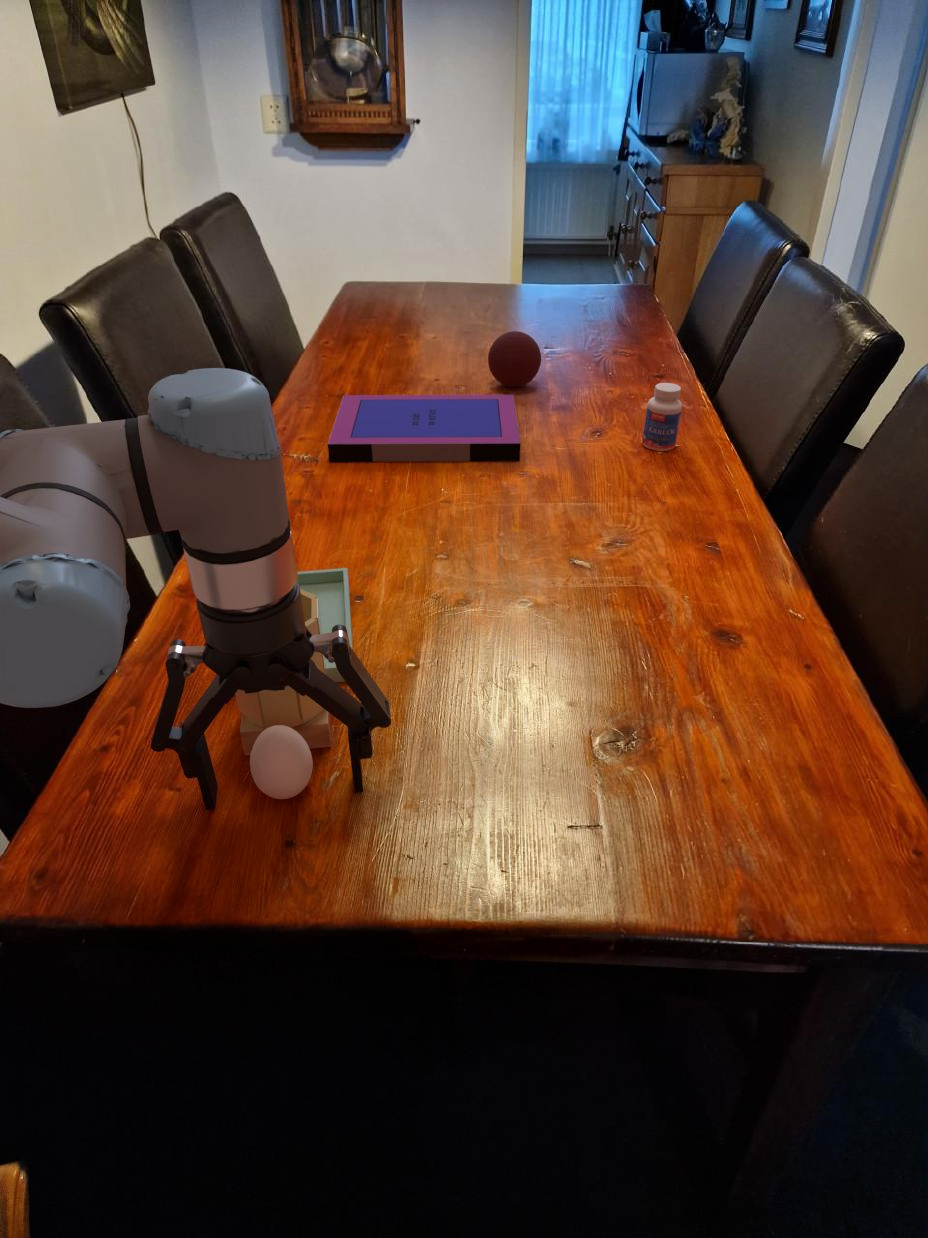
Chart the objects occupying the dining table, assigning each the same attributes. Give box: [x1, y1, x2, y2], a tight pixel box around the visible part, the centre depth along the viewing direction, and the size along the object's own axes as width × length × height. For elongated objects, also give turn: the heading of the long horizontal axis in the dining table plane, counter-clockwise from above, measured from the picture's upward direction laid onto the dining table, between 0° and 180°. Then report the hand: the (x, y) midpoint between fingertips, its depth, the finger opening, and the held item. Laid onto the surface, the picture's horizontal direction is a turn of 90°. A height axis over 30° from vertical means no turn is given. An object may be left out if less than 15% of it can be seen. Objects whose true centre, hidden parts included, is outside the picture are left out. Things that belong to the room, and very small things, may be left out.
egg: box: [249, 725, 314, 800], centre depth 70 cm, size 5×5×7 cm
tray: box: [297, 567, 354, 683], centre depth 91 cm, size 19×13×2 cm
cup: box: [234, 589, 328, 728], centre depth 75 cm, size 8×8×10 cm
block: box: [239, 709, 332, 756], centre depth 79 cm, size 8×8×3 cm
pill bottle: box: [641, 382, 683, 452], centre depth 130 cm, size 6×5×10 cm
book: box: [327, 394, 521, 463], centre depth 136 cm, size 21×3×30 cm
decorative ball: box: [487, 330, 542, 388], centre depth 153 cm, size 10×10×10 cm
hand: (286, 789), depth 73 cm, fingers open, 12 cm apart
